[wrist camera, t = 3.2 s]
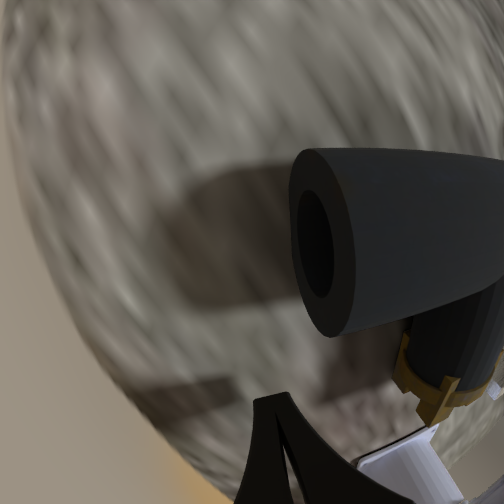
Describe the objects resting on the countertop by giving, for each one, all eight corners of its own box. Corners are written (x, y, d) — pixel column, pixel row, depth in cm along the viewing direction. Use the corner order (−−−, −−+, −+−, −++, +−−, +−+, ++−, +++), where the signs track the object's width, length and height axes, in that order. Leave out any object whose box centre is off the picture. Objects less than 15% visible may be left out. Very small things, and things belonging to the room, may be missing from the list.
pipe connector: (531, 364, 10) (323, 483, 8) (486, 326, 15) (292, 397, 13) (580, 178, 6) (360, 146, 4) (513, 162, 11) (282, 150, 9)
